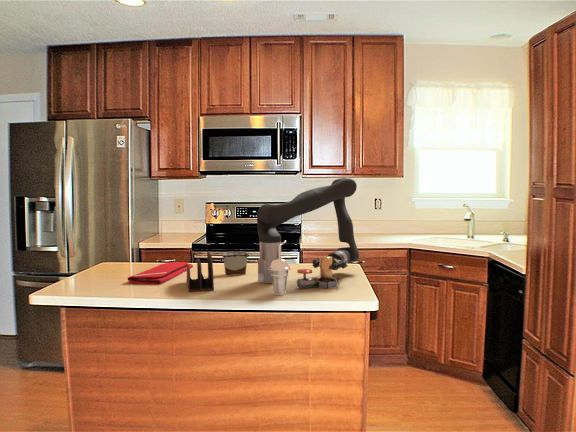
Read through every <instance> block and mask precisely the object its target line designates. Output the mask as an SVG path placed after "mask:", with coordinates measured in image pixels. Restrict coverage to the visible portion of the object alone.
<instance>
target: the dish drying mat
mask: <svg viewBox="0 0 576 432" xmlns="http://www.w3.org/2000/svg"><path fill="white" fill-rule="evenodd" d="M187 264H188V265H189V268H190V269H192V268H193V267H194V265H193V264H192V263H188V262H186V261H171V262H165V263H161V264H158V265H156V266H154V267H152V268H149V269H146V270H143V271H141V272H139V273H136V274H133V275H131V276H129V277H127V281H128V282H130V283H132V284H135V285H159V286H161V285H162V284H165V283H167V282H169V281H171V280H172V279H174V278H176V277H178V276H180V275H181V274H183V272H184V273H185V272H187Z"/></svg>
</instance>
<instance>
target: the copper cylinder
mask: <svg viewBox="0 0 576 432" xmlns="http://www.w3.org/2000/svg"><path fill="white" fill-rule="evenodd" d="M319 259H320V267H319V278H320V281H324V282H329V281H332V278H333V270H332V257H331V256H328V255H322V256H320V257H319Z"/></svg>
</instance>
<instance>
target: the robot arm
mask: <svg viewBox="0 0 576 432" xmlns="http://www.w3.org/2000/svg"><path fill="white" fill-rule="evenodd" d="M357 187H358V186H357V183H356V181H355V180H354V179H353V178H351V177H342V178H337V179H334V180H333V181H332V183H331V184H330V185H324V186H320V187H315V188H311V189H308V190H305V191H303V192H301V193H299V194H297V195H296V196H295V197H294V198H292V200H290V201H286V202H283V203H279V204H271V203H267V204H266V203H264V204H262V205H260V206H259V208H258V210H257V214H256V225H257V236H258V237H259V258H258V260H257V281H258V282H260V283H262V284H272V276H271V273H270V270H269V269H268V268H269V266H270V265H271V263H272V261H273V260H274V259H276V258H279V245H280V244H281V243H282V235H281V234H280V233H279V232H278V229H277V227H278V226H280V225H282V224H284V223H286V222H288V221H290V220H292V219H294V218H296V217H298V216H301V215H305V214H308V213H311V212H314V211H316V210H319V208H323V207H324V206H326V205H329V204H331V203H332V202H333V206H334V211H335V215H336V221H337V229H338V231H337V232H338V240H339V242H341V243H346V244H348V246H346V247H339V248H337V250H336V251H333V252H331V253H329V254H328V255H327V256H331V257H332V271H337V270H340V269H342V270H344V269H346V268H347V267H348V264H349V263H355V262H358V260H359V259H360V252H359V249H358V246H357V244H356V241H355V236H354V235H355V234H354V233H355V232H354V223H353V220H352V218H351V216H350V214H349V212H348V209H347V208H346V207H347V206H346V198H350V197H352V196H353V195H354V194H355V193H356V192H357ZM280 258H282V246H281V247H280ZM312 267H313V268H314V269H317V268H320V257H318V258H315V259H312Z"/></svg>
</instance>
